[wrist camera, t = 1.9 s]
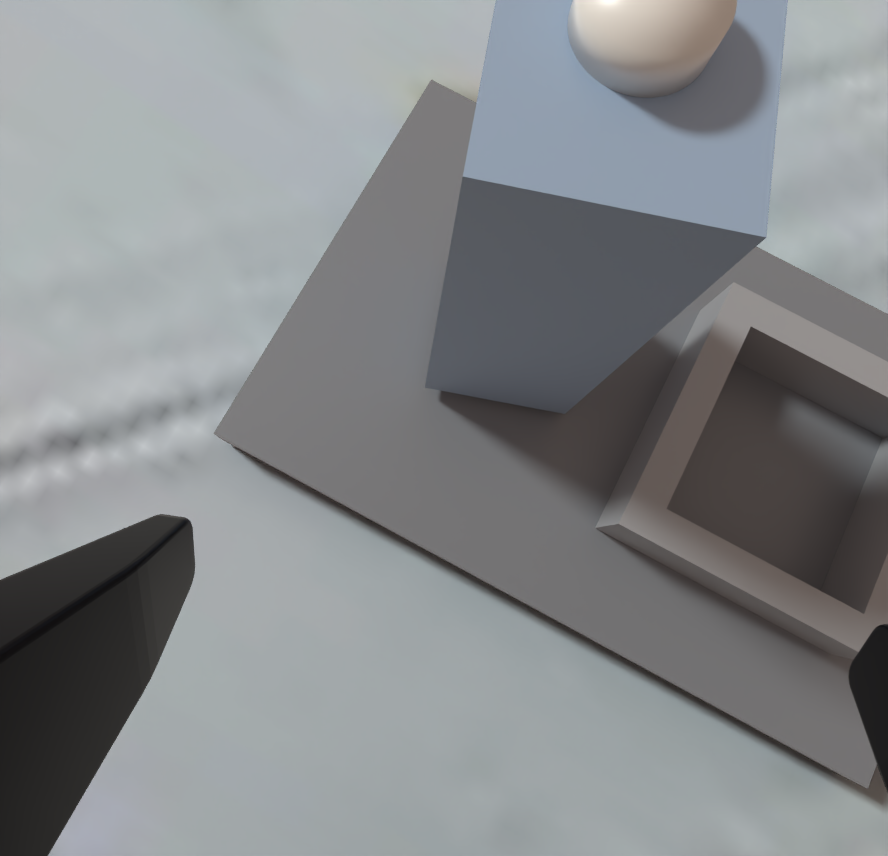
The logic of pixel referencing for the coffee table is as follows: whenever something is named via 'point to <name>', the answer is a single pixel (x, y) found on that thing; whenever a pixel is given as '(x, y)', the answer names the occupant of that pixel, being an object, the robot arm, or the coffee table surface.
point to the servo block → (603, 186)
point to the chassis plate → (609, 458)
